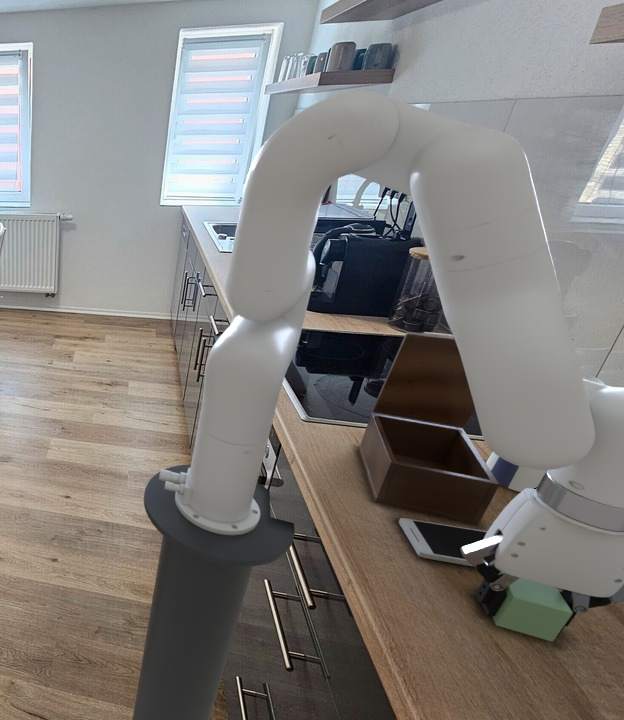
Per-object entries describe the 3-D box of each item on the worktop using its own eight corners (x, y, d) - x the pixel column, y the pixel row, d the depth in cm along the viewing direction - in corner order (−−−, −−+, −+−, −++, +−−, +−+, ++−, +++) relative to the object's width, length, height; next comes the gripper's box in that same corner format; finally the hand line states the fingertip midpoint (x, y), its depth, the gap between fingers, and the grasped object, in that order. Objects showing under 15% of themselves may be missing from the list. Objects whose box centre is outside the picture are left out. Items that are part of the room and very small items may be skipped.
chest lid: (513, 346, 73) (503, 330, 77) (407, 334, 78) (402, 319, 82) (464, 427, 83) (457, 410, 86) (372, 412, 88) (369, 396, 91)
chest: (478, 525, 74) (499, 484, 71) (375, 502, 79) (391, 462, 76) (445, 465, 86) (463, 428, 83) (358, 448, 92) (371, 412, 88)
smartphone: (560, 582, 65) (564, 577, 64) (419, 557, 69) (421, 552, 68) (525, 542, 71) (528, 537, 70) (397, 521, 75) (399, 516, 75)
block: (552, 642, 58) (573, 613, 55) (496, 625, 60) (514, 597, 57) (533, 607, 62) (552, 579, 59) (480, 593, 64) (497, 565, 62)
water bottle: (465, 467, 86) (528, 335, 75) (502, 459, 87) (570, 328, 77) (521, 499, 79) (600, 357, 68) (561, 489, 80) (645, 349, 69)
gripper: (683, 500, 52) (596, 616, 60) (473, 460, 59) (420, 569, 67) (739, 550, 46) (634, 672, 54) (498, 499, 53) (436, 614, 61)
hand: (516, 614), depth 60 cm, fingers closed on block, 5 cm apart
